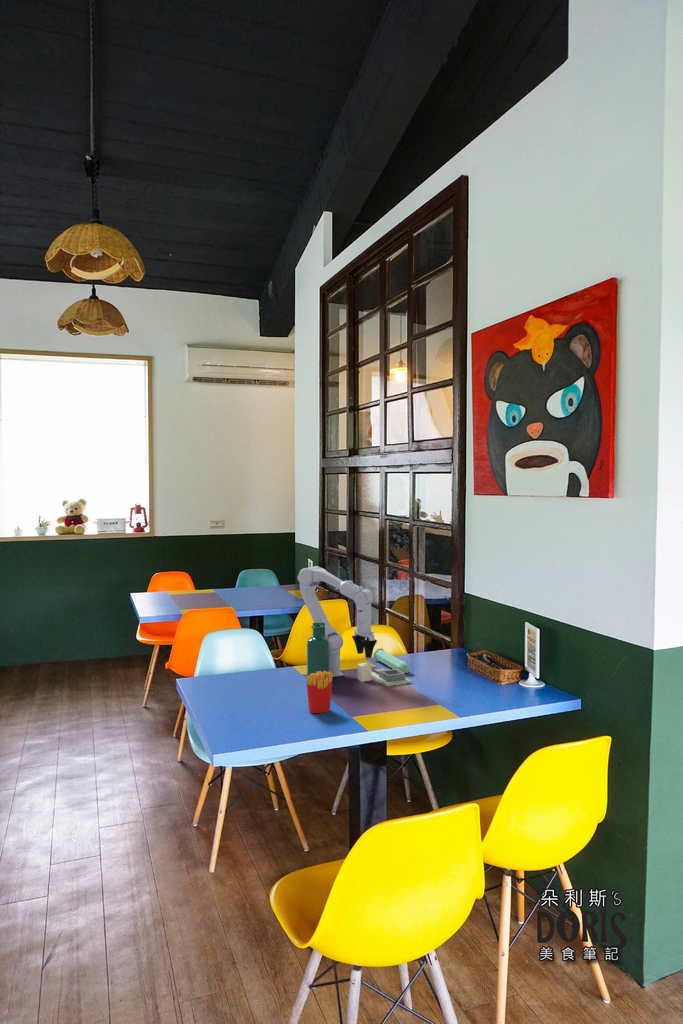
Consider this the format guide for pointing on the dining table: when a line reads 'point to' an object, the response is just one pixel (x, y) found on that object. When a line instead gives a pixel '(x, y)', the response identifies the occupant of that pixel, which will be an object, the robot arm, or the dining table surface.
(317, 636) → the green bottle
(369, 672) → the block
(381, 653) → the container
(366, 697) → the dining table surface
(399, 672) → the outlet plate
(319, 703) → the french fries
